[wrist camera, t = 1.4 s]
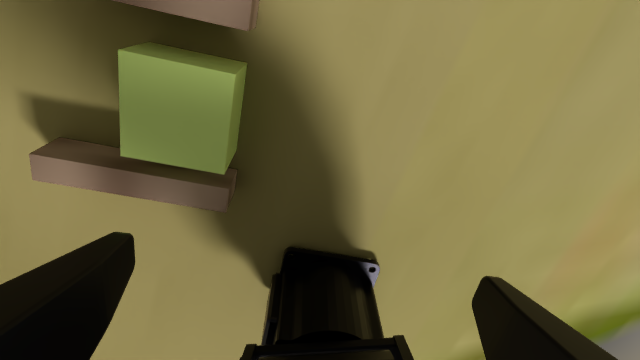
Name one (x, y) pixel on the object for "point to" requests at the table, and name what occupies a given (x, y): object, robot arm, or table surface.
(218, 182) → the lane rails
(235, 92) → the lime block
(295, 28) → the table surface
